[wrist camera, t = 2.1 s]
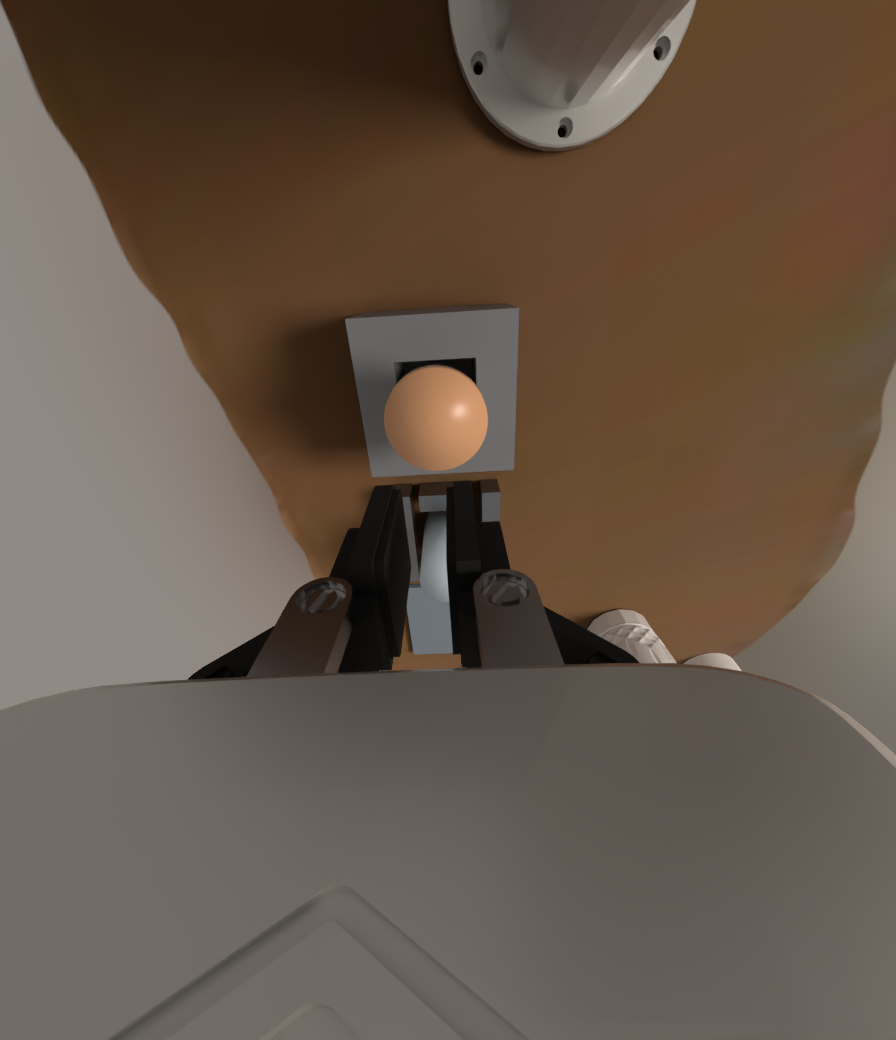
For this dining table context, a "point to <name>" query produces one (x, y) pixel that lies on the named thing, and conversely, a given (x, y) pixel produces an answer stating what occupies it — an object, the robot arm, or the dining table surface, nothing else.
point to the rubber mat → (428, 623)
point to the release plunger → (436, 417)
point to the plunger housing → (448, 340)
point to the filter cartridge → (434, 557)
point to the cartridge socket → (435, 500)
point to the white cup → (631, 635)
